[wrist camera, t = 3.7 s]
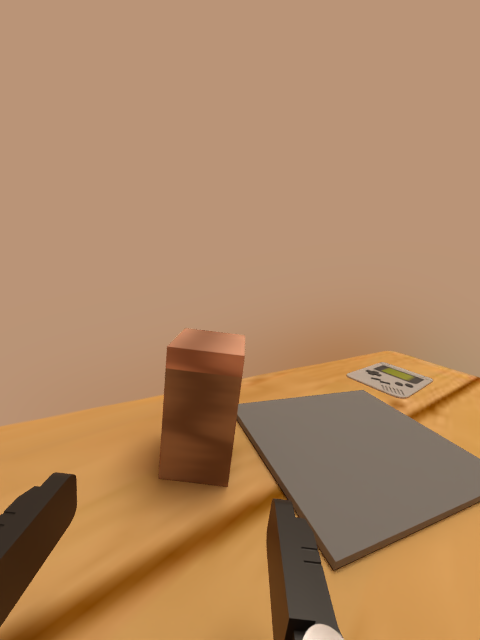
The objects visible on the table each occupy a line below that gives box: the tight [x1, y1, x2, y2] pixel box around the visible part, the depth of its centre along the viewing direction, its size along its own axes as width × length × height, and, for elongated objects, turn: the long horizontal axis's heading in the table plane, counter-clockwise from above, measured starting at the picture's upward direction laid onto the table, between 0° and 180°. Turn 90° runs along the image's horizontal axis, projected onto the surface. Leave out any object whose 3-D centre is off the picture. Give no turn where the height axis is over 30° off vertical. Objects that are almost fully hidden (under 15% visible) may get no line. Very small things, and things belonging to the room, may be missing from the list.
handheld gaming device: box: [347, 362, 433, 399], centre depth 44 cm, size 9×1×15 cm
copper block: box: [159, 328, 245, 487], centre depth 20 cm, size 5×5×10 cm
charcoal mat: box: [237, 390, 480, 570], centre depth 25 cm, size 20×16×1 cm
